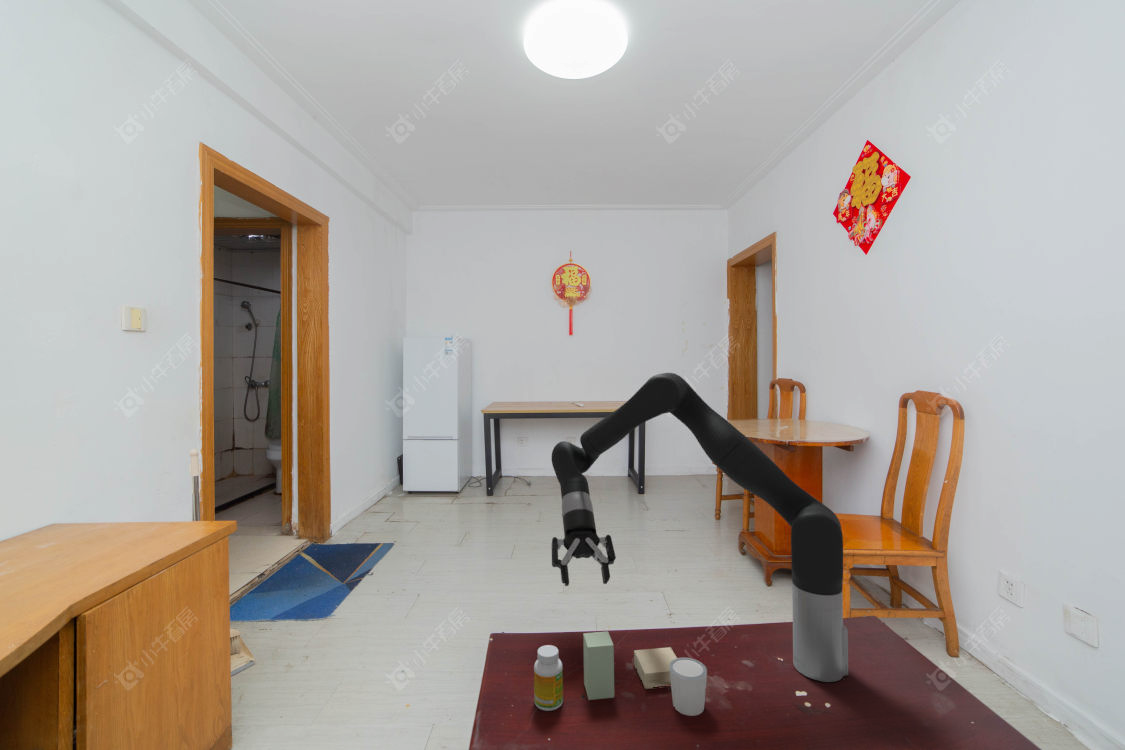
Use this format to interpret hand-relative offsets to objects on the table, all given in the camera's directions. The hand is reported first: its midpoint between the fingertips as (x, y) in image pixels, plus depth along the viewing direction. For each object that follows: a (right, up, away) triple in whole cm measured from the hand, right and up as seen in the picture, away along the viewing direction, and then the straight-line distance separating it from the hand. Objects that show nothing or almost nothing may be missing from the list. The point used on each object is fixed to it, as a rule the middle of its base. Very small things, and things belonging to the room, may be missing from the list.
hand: (586, 583), depth 106 cm
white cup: (+18, -16, -16) cm, 29 cm away
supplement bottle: (-8, -16, -14) cm, 23 cm away
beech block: (+14, -16, -7) cm, 22 cm away
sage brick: (+2, -16, -11) cm, 20 cm away
